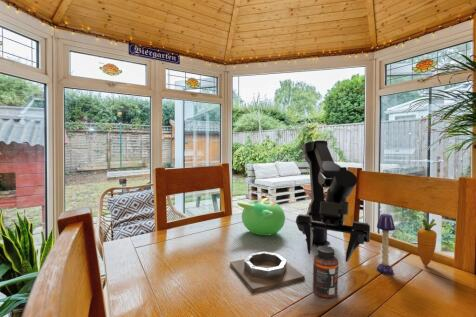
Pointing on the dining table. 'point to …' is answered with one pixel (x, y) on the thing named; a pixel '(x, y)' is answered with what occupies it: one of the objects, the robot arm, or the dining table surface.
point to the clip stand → (263, 284)
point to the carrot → (426, 241)
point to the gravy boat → (262, 216)
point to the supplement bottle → (325, 272)
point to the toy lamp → (385, 241)
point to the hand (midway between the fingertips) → (327, 257)
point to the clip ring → (265, 272)
